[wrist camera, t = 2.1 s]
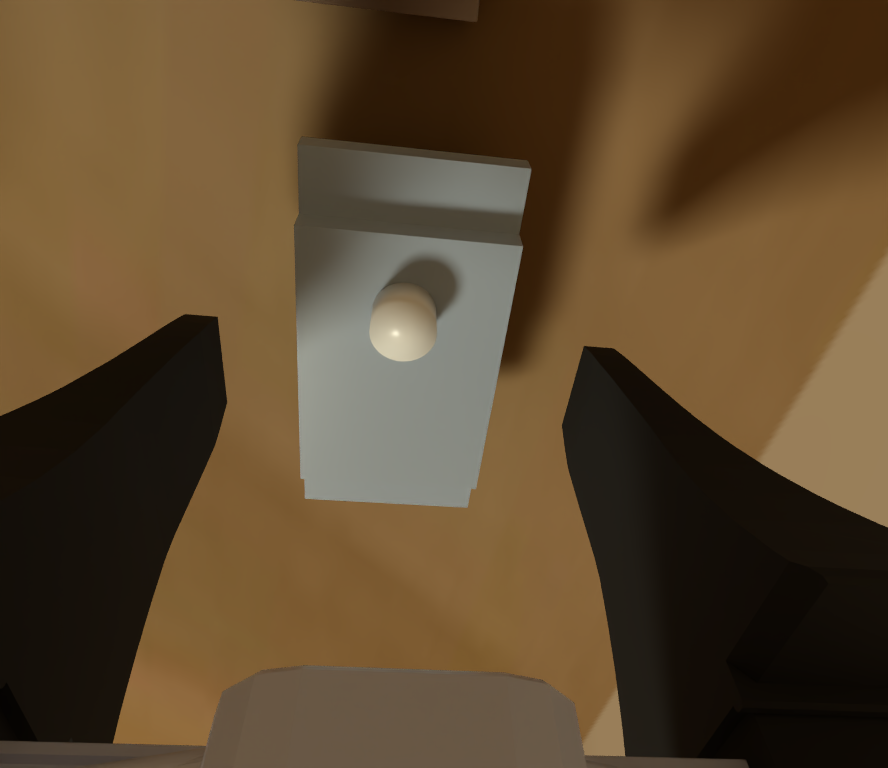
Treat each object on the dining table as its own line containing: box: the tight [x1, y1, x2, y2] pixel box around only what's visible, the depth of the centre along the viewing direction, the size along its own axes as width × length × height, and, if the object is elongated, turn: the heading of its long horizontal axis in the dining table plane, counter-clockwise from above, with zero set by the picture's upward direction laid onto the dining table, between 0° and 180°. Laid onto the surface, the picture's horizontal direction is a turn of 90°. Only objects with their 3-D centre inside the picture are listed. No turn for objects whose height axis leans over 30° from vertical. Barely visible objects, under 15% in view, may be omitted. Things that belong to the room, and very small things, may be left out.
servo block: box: [294, 137, 531, 508], centre depth 14 cm, size 4×8×5 cm, turn 174°
